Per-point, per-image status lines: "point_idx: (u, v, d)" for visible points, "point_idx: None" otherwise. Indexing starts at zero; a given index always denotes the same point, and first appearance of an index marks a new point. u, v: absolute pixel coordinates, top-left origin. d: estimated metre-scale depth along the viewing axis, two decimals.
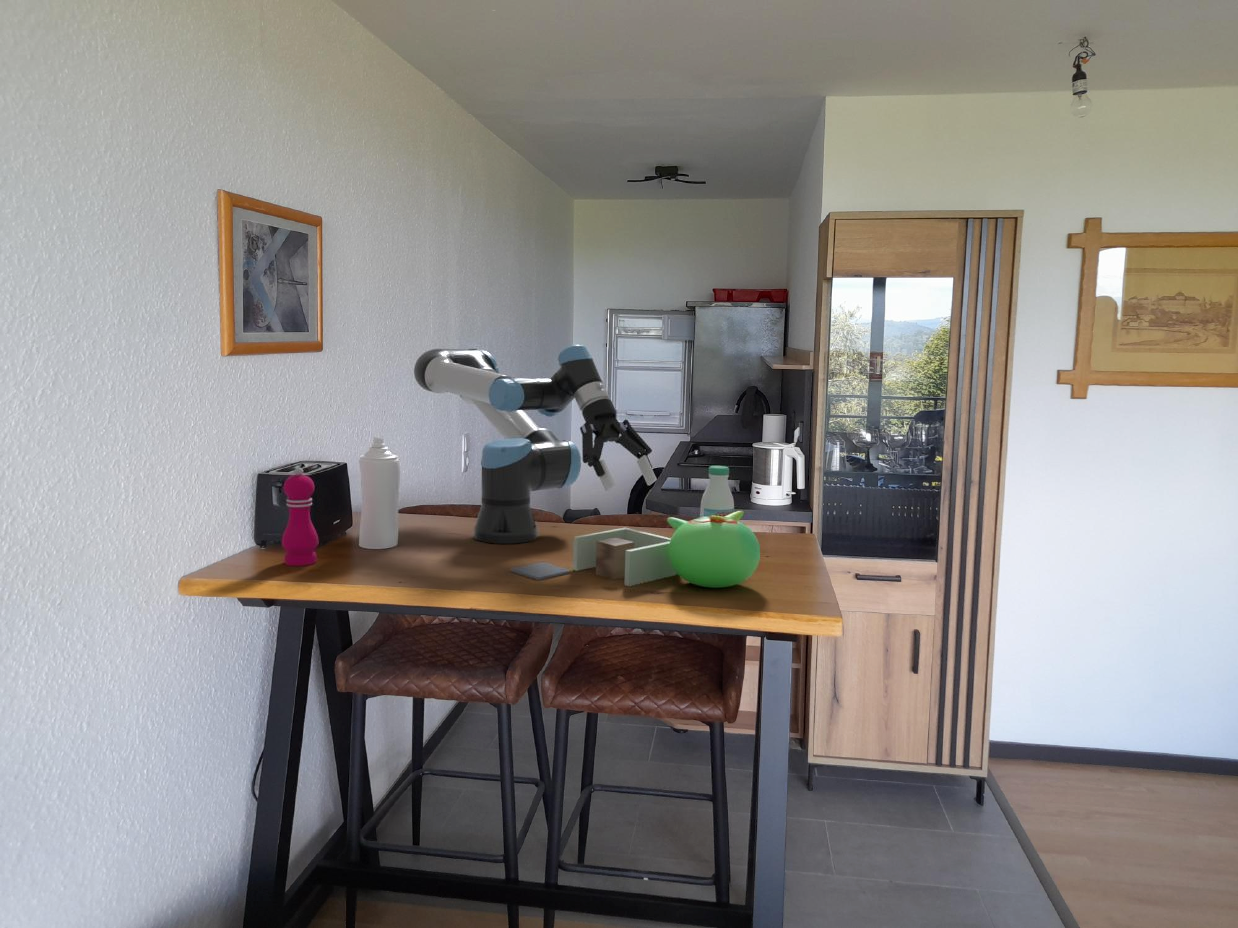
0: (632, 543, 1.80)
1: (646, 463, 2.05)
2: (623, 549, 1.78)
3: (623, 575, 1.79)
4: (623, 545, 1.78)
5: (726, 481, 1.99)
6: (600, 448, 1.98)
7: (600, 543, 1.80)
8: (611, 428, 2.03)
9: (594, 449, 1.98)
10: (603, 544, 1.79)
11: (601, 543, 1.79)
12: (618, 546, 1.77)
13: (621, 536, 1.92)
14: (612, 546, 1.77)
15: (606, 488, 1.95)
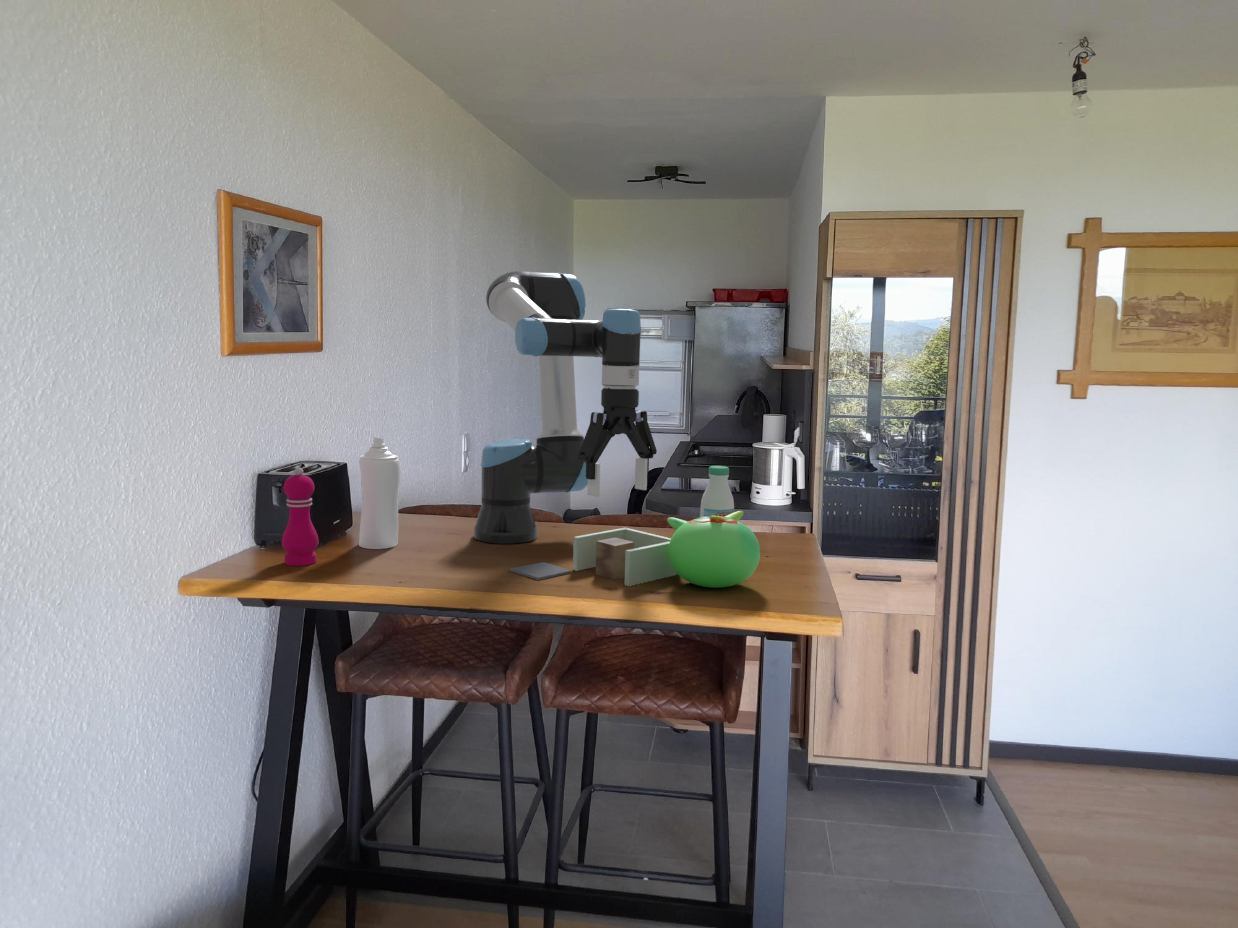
0: (632, 543, 1.80)
1: (644, 468, 1.82)
2: (623, 549, 1.78)
3: (623, 575, 1.79)
4: (623, 545, 1.78)
5: (726, 481, 1.99)
6: (602, 448, 1.73)
7: (600, 543, 1.80)
8: (624, 422, 1.77)
9: (595, 445, 1.74)
10: (603, 544, 1.79)
11: (601, 543, 1.79)
12: (618, 546, 1.77)
13: (621, 536, 1.92)
14: (612, 546, 1.77)
15: (589, 493, 1.75)
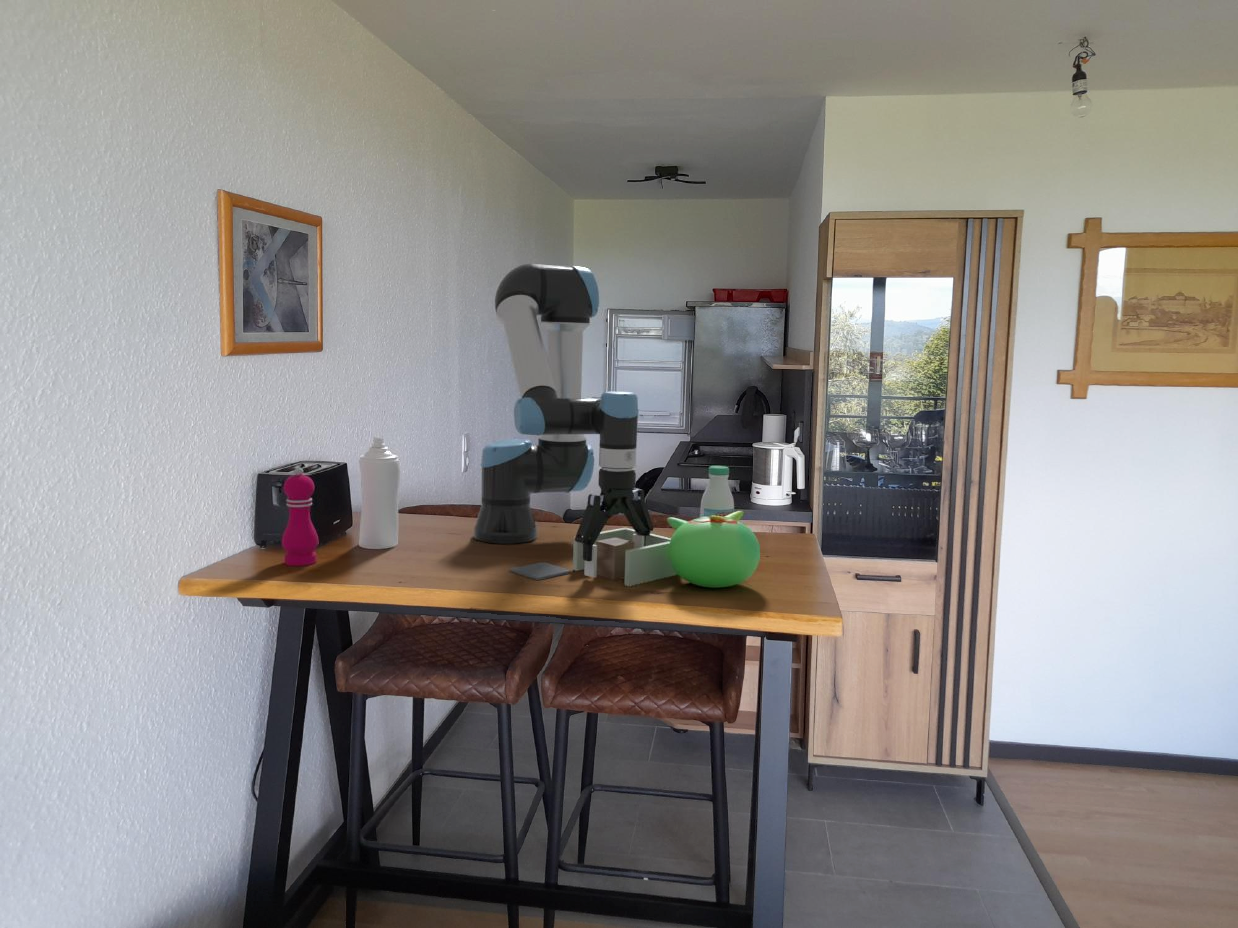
0: (632, 543, 1.80)
1: (640, 545, 1.84)
2: (623, 549, 1.78)
3: (623, 575, 1.79)
4: (623, 545, 1.78)
5: (726, 481, 1.99)
6: (599, 530, 1.75)
7: (600, 543, 1.80)
8: (621, 502, 1.79)
9: (593, 526, 1.76)
10: (603, 544, 1.79)
11: (601, 543, 1.79)
12: (618, 546, 1.77)
13: (621, 536, 1.92)
14: (612, 546, 1.77)
15: (586, 573, 1.77)
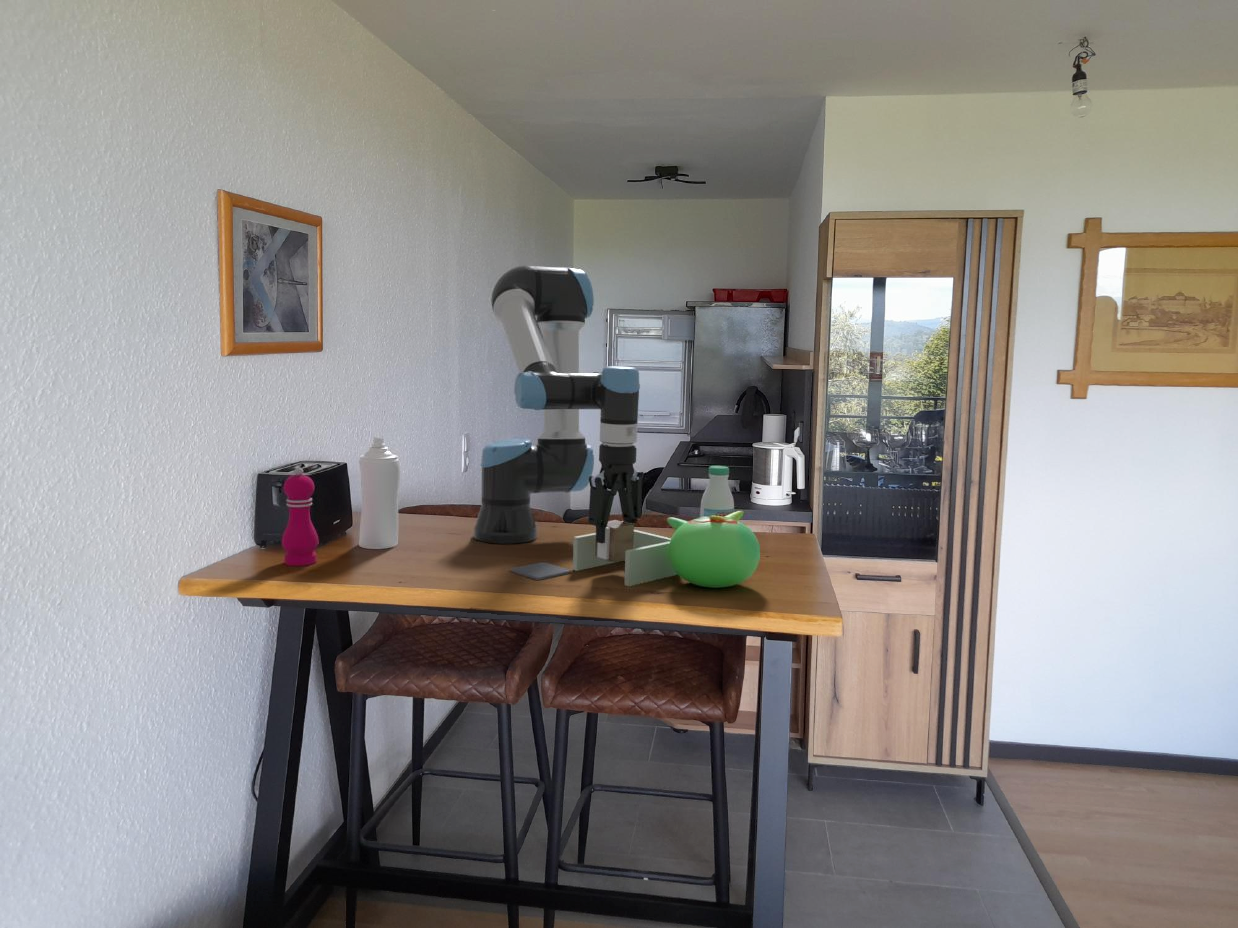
0: (632, 526, 1.80)
1: None
2: (623, 532, 1.78)
3: (623, 557, 1.79)
4: (623, 527, 1.78)
5: (726, 481, 1.99)
6: (608, 510, 1.77)
7: None
8: (621, 476, 1.78)
9: (601, 508, 1.77)
10: None
11: None
12: (618, 528, 1.77)
13: None
14: (612, 528, 1.77)
15: (599, 555, 1.79)
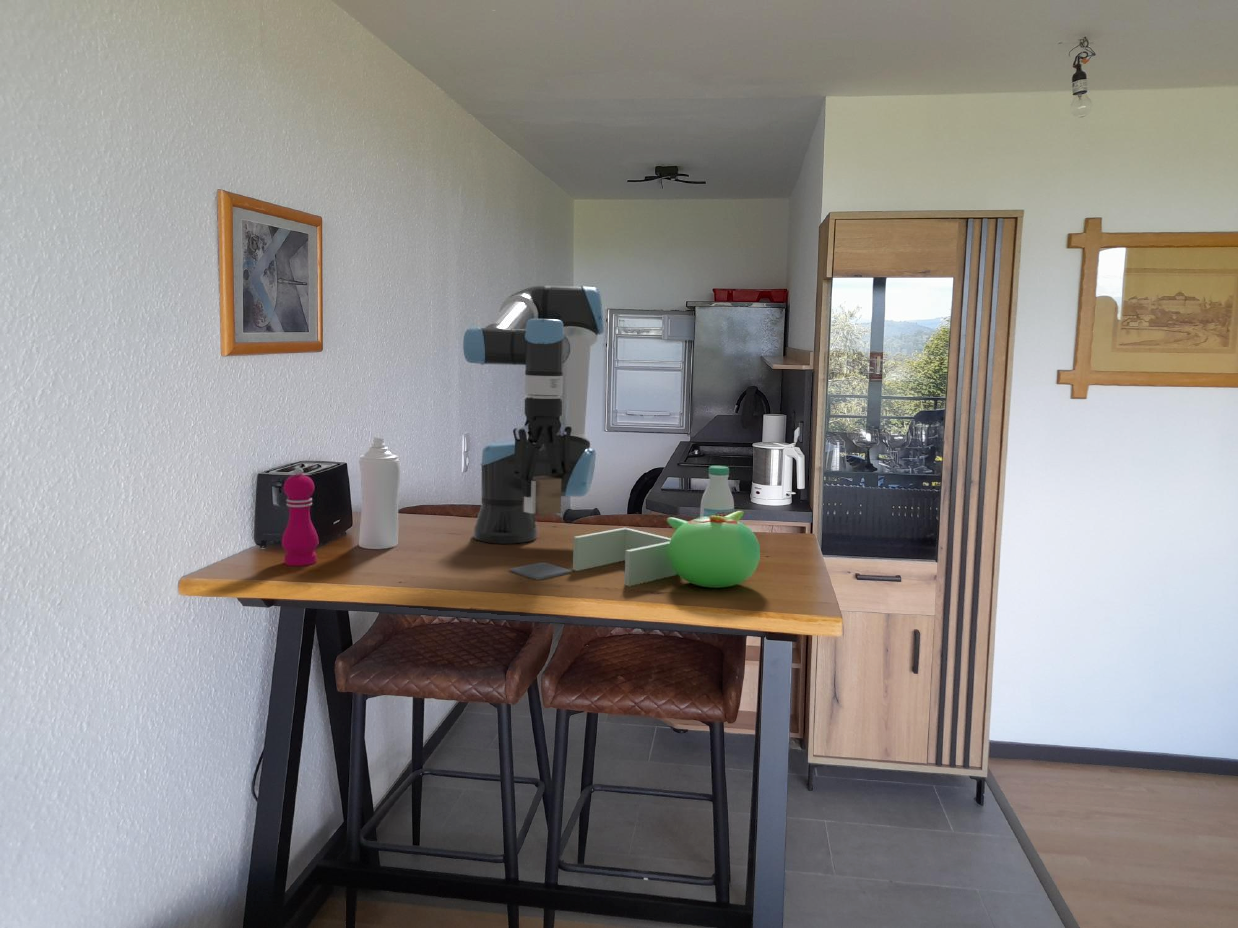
0: (559, 480, 1.79)
1: None
2: (549, 485, 1.77)
3: (550, 512, 1.78)
4: (549, 481, 1.77)
5: (726, 481, 1.99)
6: (534, 464, 1.75)
7: None
8: (547, 429, 1.77)
9: (527, 461, 1.76)
10: None
11: None
12: (544, 482, 1.76)
13: (621, 536, 1.92)
14: (537, 482, 1.76)
15: (525, 510, 1.78)
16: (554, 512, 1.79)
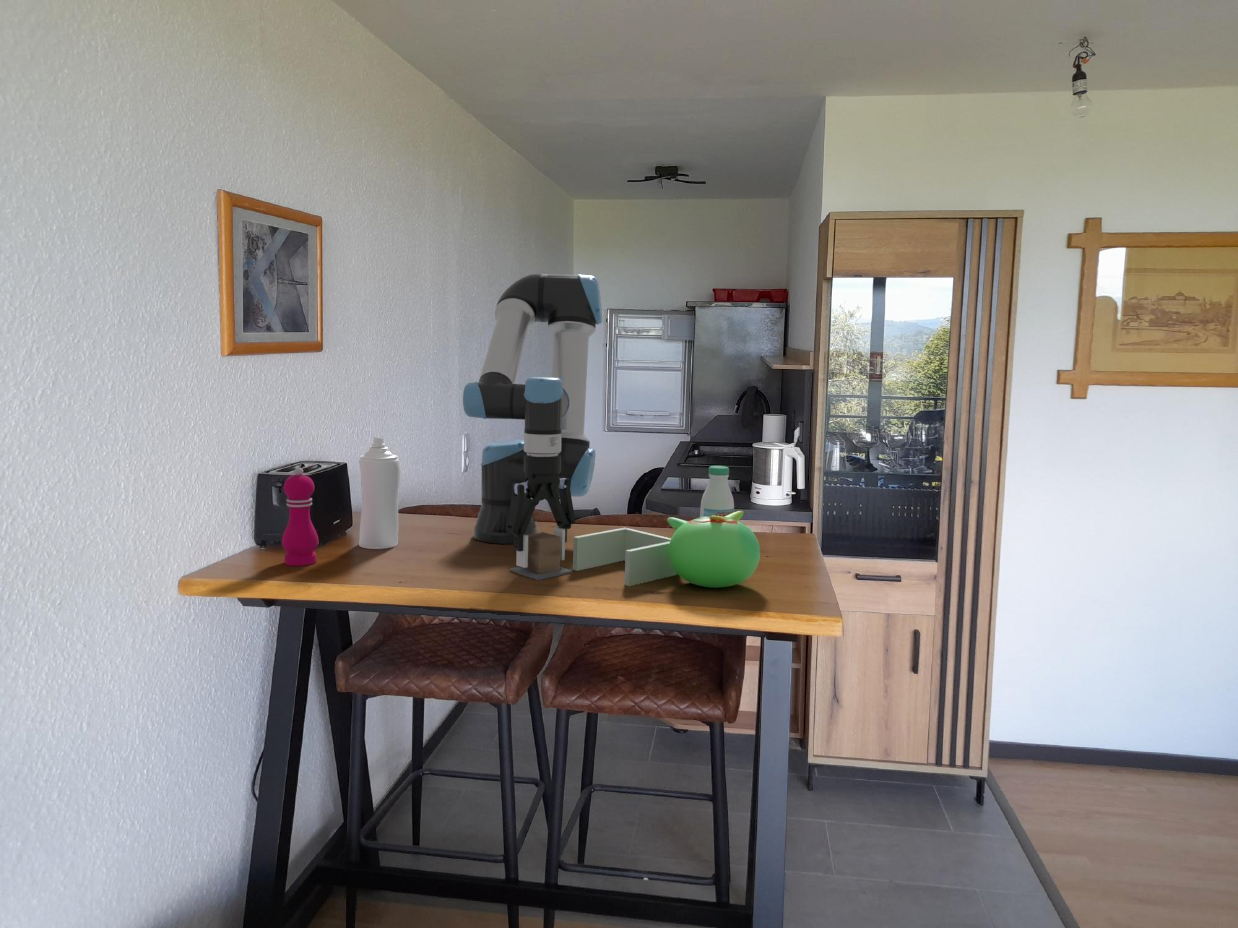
0: (558, 538, 1.80)
1: (561, 538, 1.83)
2: (548, 544, 1.79)
3: (549, 570, 1.80)
4: (548, 540, 1.79)
5: (726, 481, 1.99)
6: (528, 519, 1.76)
7: None
8: (546, 487, 1.79)
9: (521, 515, 1.77)
10: (529, 539, 1.79)
11: None
12: (543, 541, 1.78)
13: (621, 536, 1.92)
14: (537, 541, 1.77)
15: (518, 563, 1.78)
16: (553, 570, 1.80)
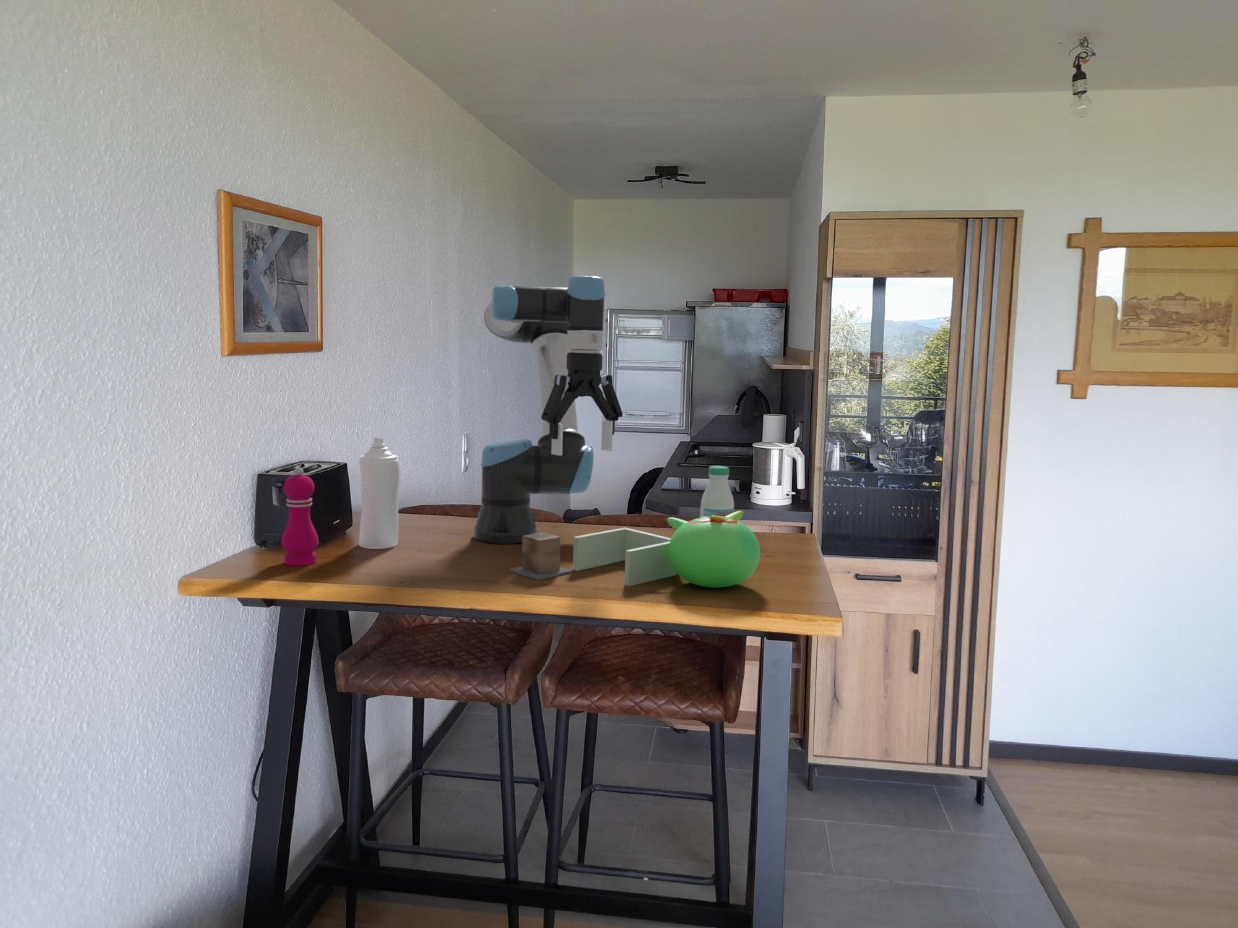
0: (558, 538, 1.80)
1: (609, 430, 1.90)
2: (548, 544, 1.79)
3: (549, 570, 1.80)
4: (548, 540, 1.79)
5: (726, 481, 1.99)
6: (565, 409, 1.81)
7: (526, 538, 1.80)
8: (588, 385, 1.85)
9: (559, 406, 1.82)
10: (529, 539, 1.79)
11: (527, 538, 1.80)
12: (543, 541, 1.78)
13: (621, 536, 1.92)
14: (537, 541, 1.77)
15: (553, 452, 1.83)
16: (553, 570, 1.80)
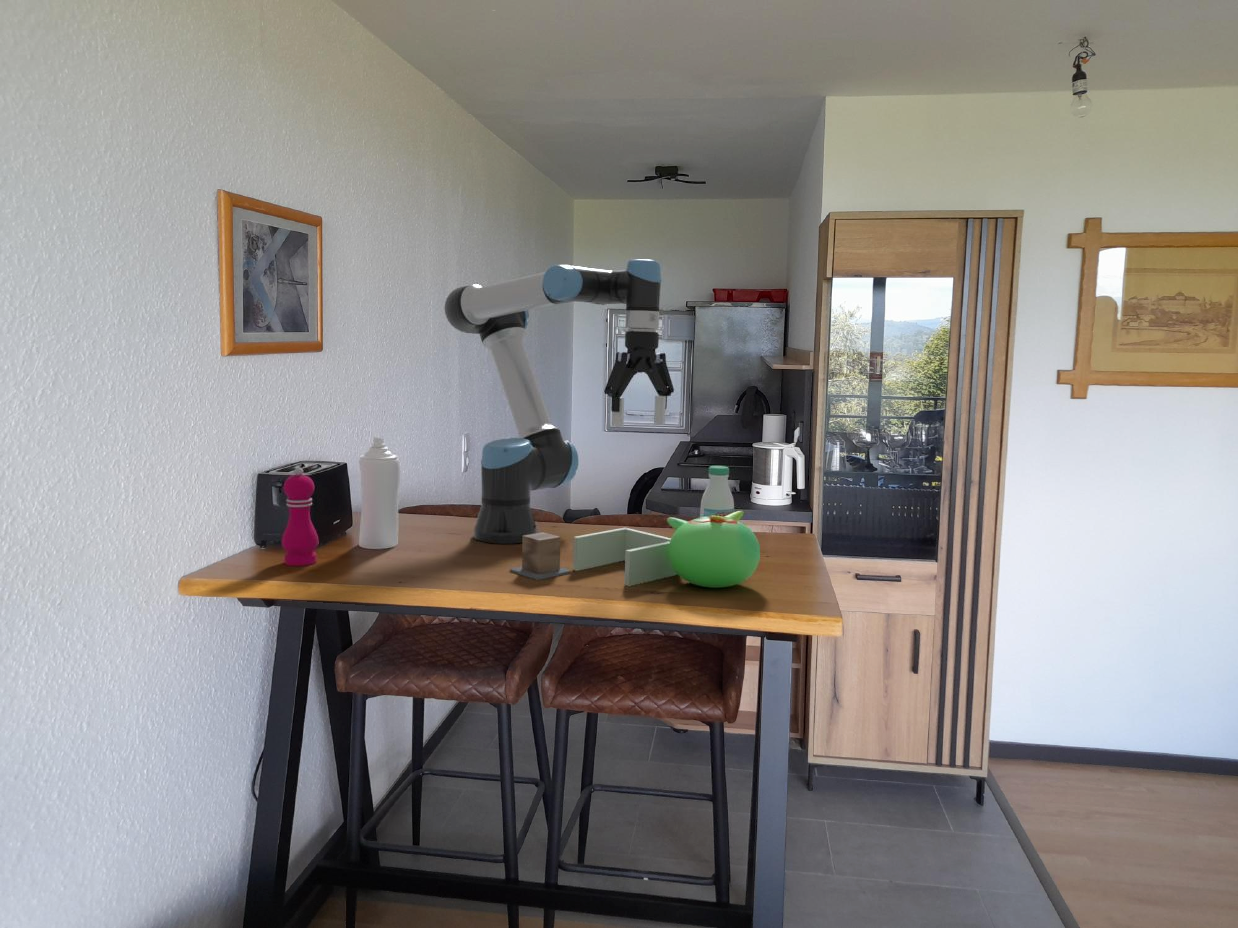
0: (558, 538, 1.80)
1: (662, 405, 2.03)
2: (548, 544, 1.79)
3: (549, 570, 1.80)
4: (548, 540, 1.79)
5: (726, 481, 1.99)
6: (626, 384, 1.94)
7: (526, 538, 1.80)
8: (646, 362, 1.98)
9: (620, 381, 1.95)
10: (529, 539, 1.79)
11: (527, 538, 1.80)
12: (543, 541, 1.78)
13: (621, 536, 1.92)
14: (537, 541, 1.77)
15: (614, 424, 1.96)
16: (553, 570, 1.80)
